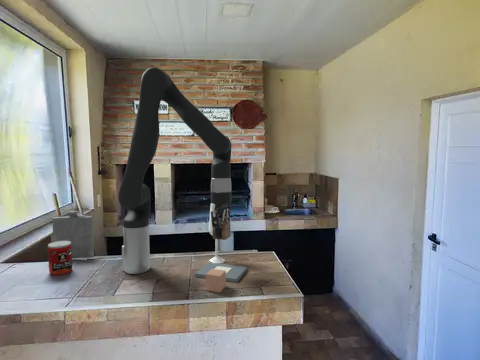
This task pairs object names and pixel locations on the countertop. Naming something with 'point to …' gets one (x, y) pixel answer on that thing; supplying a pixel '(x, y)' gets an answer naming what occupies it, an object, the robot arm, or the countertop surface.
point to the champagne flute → (216, 258)
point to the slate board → (231, 271)
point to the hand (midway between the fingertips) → (221, 235)
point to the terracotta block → (215, 280)
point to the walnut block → (223, 231)
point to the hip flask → (75, 233)
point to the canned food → (60, 257)
